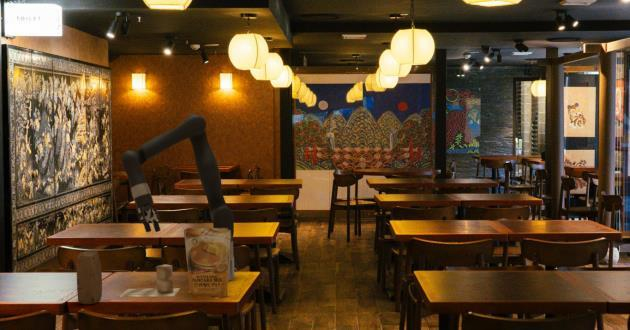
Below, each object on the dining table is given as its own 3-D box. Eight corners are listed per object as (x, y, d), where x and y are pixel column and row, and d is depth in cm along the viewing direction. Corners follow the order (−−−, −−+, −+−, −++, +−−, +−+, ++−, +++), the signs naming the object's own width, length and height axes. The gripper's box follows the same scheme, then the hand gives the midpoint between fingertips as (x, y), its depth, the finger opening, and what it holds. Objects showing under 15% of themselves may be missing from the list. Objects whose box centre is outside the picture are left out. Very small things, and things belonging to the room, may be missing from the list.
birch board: (180, 291, 318) (180, 288, 318) (174, 299, 304) (173, 296, 304) (128, 292, 318) (128, 288, 318) (119, 300, 304) (119, 296, 304)
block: (93, 305, 297) (92, 254, 296) (75, 305, 298) (73, 254, 297) (105, 298, 308) (103, 249, 306) (87, 298, 309) (85, 249, 307)
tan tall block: (166, 290, 314) (165, 264, 313) (173, 292, 311) (172, 265, 310) (157, 292, 310) (156, 266, 309) (164, 294, 307) (163, 267, 306)
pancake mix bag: (187, 294, 313) (185, 226, 311) (233, 294, 312) (231, 226, 310) (183, 298, 307) (181, 229, 305) (230, 298, 305) (228, 229, 303)
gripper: (141, 192, 317) (153, 228, 315) (157, 193, 331) (168, 228, 328) (126, 198, 319) (138, 235, 316) (142, 199, 332) (153, 234, 330)
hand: (153, 231), depth 322 cm, fingers open, 8 cm apart
